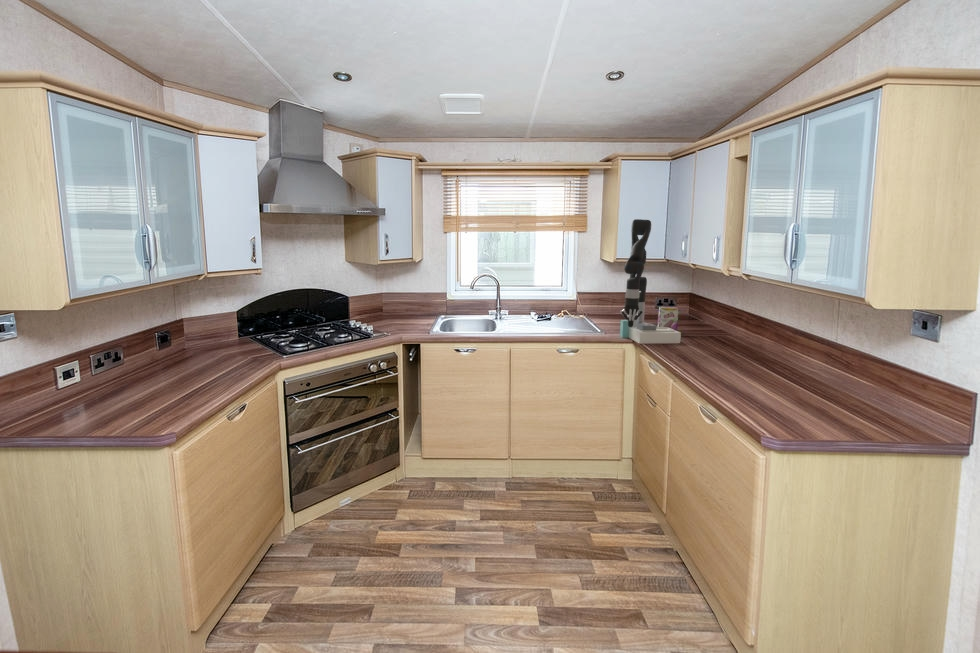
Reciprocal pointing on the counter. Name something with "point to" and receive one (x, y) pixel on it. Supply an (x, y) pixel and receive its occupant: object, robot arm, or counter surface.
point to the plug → (624, 329)
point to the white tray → (655, 335)
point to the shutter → (646, 326)
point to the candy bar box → (668, 317)
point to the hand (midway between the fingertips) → (630, 326)
